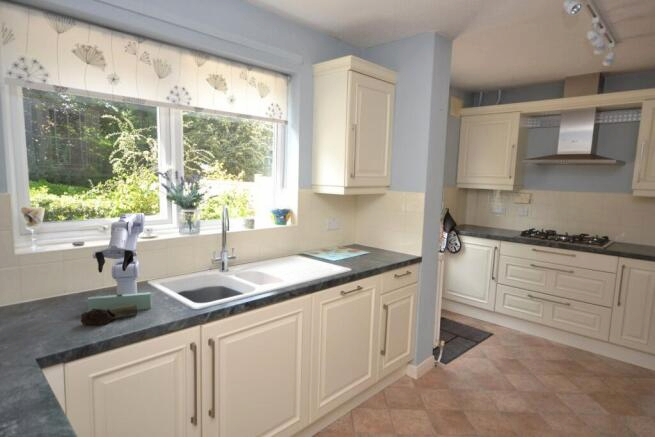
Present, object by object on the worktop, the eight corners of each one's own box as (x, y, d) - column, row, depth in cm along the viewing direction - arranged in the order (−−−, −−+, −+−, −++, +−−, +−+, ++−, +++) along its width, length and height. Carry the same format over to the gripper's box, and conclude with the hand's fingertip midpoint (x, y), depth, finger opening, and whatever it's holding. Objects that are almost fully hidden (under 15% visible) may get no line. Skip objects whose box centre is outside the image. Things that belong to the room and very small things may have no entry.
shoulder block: (90, 311, 147) (89, 294, 146) (151, 306, 153) (151, 290, 153) (88, 314, 144) (87, 297, 143) (150, 308, 151) (150, 292, 150)
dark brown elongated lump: (134, 313, 146) (134, 299, 146) (138, 318, 141) (138, 304, 141) (80, 323, 135) (79, 308, 135) (83, 330, 130) (82, 314, 130)
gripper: (94, 237, 141) (86, 263, 132) (136, 235, 146) (132, 261, 136) (98, 250, 146) (90, 277, 136) (139, 248, 150) (135, 274, 140)
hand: (111, 269), depth 136 cm, fingers open, 7 cm apart
